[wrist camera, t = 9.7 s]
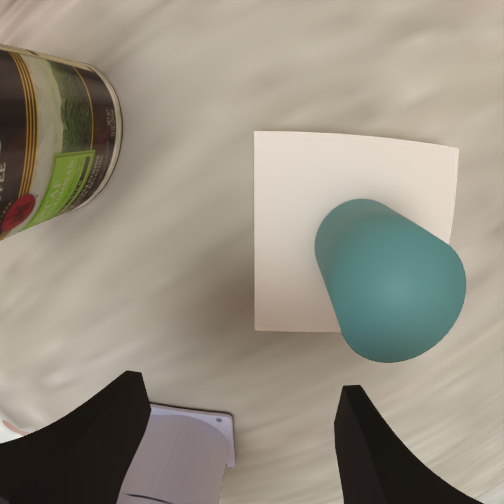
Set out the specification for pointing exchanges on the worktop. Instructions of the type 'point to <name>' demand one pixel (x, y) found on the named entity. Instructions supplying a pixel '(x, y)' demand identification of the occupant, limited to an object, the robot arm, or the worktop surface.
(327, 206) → the plinth
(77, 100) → the coffee can
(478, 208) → the worktop surface
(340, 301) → the teal cylinder
